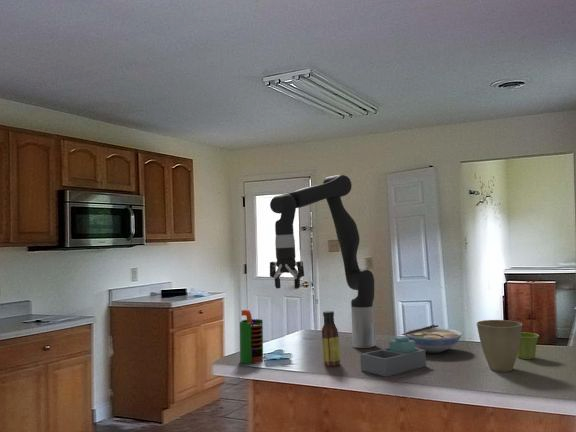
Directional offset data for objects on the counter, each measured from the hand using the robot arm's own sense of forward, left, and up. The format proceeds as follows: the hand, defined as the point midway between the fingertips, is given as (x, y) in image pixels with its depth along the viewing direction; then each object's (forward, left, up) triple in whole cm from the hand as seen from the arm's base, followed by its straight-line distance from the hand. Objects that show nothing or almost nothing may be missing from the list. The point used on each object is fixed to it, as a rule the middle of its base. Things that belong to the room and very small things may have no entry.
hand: (287, 288), depth 213 cm
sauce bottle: (-9, +14, -29) cm, 33 cm away
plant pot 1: (-46, +61, -29) cm, 82 cm away
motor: (+9, -13, -29) cm, 33 cm away
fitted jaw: (-26, +34, -27) cm, 51 cm away
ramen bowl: (-54, +26, -29) cm, 66 cm away
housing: (-21, +34, -29) cm, 49 cm away
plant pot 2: (-68, +58, -29) cm, 94 cm away
